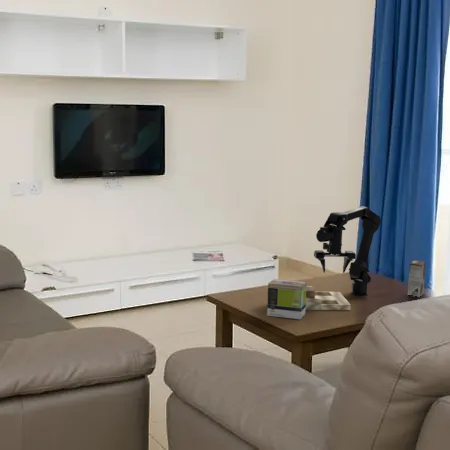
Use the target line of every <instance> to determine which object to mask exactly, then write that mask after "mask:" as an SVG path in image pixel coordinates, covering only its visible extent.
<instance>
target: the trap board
mask: <svg viewBox="0 0 450 450" xmlns="http://www.w3.org/2000/svg"><path fill="white" fill-rule="evenodd" d="M306 288H313V286H312V285H310V286H309V285H306ZM351 305H352V304H350V302H349V301H348V300H347V298H345V297H344V295H343V294H342V293H341V292H340V291H315V299H306V308H305V311H310V310H311V311H313V310H314V311H317V310H318V311H351V308H352V306H351Z"/></svg>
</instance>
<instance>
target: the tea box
mask: <svg viewBox="0 0 450 450" xmlns="http://www.w3.org/2000/svg"><path fill="white" fill-rule="evenodd" d="M306 286H307V281H303V280H302V281H301V280H289V279H279V278H273V279H272V280H271V281H270V282H268V284H267V304H266V305H267V307H266V315H267V316H269V317H270V316H271V317H275V318H276V317H277V318H283V319H284V318H285V319H286V318H287V319H292V320H293V319H294V320H302V318H303V317H304V316H305V315H306V310H305V308H306Z"/></svg>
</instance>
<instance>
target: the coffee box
mask: <svg viewBox="0 0 450 450" xmlns="http://www.w3.org/2000/svg"><path fill="white" fill-rule="evenodd" d="M426 263H427V262H426V261H423V260H417V259H416V260H415V259H413V260H411V262H409V270H408V285H407V296H408V295H413V296H412V297H415V296H417V298H421V297H420V296H423V294H424V292H425V289H424V288H425V276H426Z"/></svg>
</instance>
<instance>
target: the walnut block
mask: <svg viewBox="0 0 450 450" xmlns="http://www.w3.org/2000/svg"><path fill="white" fill-rule="evenodd" d="M315 292H316V290H315V289H314V288H313V287H312V288H306V299H315Z"/></svg>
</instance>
